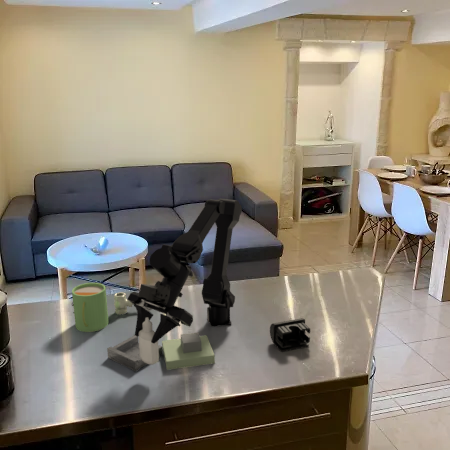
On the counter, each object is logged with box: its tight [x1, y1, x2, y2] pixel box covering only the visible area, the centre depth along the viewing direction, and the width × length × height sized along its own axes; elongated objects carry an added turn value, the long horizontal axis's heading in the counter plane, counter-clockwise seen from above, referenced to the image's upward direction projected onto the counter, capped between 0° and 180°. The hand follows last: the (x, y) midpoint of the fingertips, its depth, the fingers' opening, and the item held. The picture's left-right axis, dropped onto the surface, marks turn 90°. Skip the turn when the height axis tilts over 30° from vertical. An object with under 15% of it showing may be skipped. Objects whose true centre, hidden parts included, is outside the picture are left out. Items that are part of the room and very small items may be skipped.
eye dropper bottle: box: [138, 317, 160, 366], centre depth 124 cm, size 4×6×12 cm
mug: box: [71, 282, 109, 333], centre depth 152 cm, size 13×10×12 cm
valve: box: [113, 291, 134, 316], centre depth 162 cm, size 7×7×12 cm
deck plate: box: [161, 332, 216, 371], centre depth 136 cm, size 13×11×6 cm
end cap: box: [269, 317, 311, 353], centre depth 141 cm, size 10×7×7 cm
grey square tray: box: [106, 334, 164, 372], centre depth 136 cm, size 10×11×3 cm
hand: (144, 339), depth 123 cm, fingers closed on eye dropper bottle, 5 cm apart
